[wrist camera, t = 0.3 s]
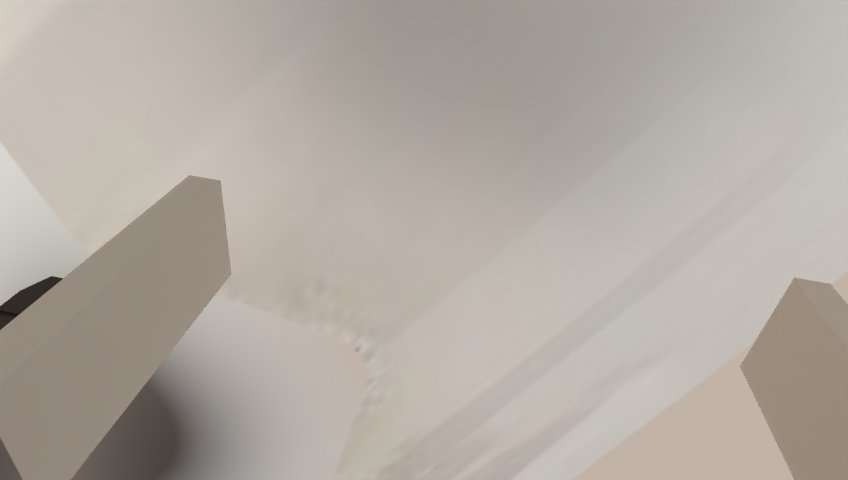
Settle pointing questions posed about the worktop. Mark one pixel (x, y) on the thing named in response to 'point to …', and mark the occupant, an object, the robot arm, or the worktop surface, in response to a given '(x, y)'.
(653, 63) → the worktop surface
